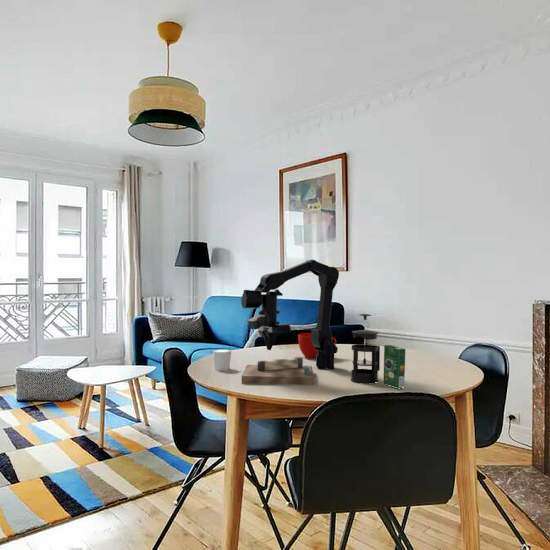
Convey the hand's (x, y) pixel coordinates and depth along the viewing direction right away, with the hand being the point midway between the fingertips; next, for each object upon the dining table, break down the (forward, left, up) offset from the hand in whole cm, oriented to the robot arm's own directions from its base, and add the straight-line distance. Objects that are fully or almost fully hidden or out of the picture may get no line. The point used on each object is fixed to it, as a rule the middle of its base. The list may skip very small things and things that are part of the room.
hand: (269, 349), depth 174 cm
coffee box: (-42, +20, -8) cm, 47 cm away
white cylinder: (+18, -4, -8) cm, 20 cm away
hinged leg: (-4, +6, -5) cm, 10 cm away
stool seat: (-4, +10, -8) cm, 13 cm away
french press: (-34, +12, -8) cm, 37 cm away
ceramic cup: (-20, -34, -8) cm, 40 cm away
